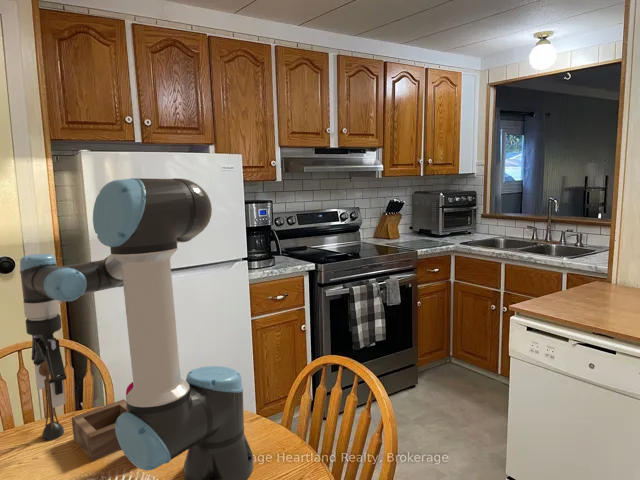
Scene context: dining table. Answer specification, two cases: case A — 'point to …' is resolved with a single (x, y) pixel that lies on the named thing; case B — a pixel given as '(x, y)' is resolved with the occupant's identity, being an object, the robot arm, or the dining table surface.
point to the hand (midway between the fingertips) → (50, 396)
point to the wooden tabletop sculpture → (50, 409)
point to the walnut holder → (98, 430)
